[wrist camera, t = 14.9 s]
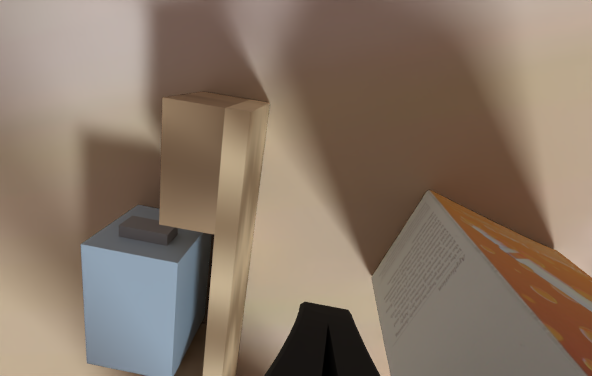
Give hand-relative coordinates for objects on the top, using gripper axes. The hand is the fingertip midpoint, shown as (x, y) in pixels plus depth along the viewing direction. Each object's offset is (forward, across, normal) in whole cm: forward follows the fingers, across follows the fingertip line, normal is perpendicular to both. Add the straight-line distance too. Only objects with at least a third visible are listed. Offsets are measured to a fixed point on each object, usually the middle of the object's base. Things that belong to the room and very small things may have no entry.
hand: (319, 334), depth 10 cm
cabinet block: (+10, +8, +6) cm, 14 cm away
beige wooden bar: (+10, +6, +6) cm, 13 cm away
